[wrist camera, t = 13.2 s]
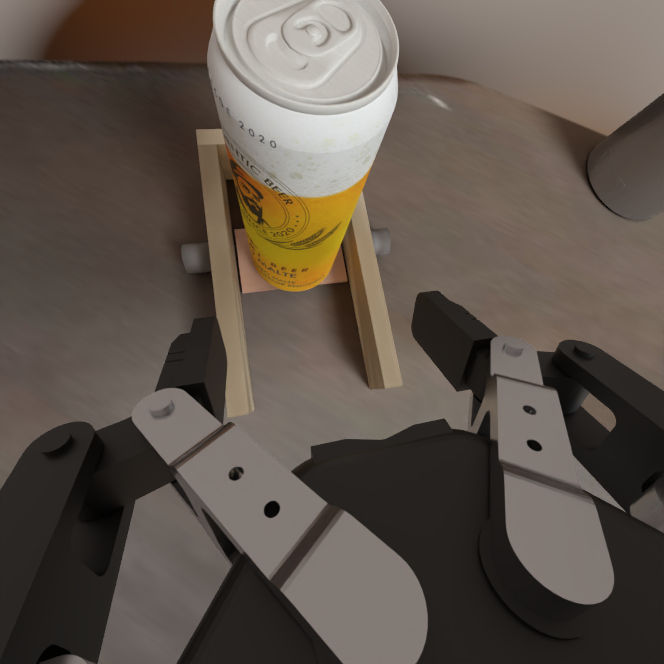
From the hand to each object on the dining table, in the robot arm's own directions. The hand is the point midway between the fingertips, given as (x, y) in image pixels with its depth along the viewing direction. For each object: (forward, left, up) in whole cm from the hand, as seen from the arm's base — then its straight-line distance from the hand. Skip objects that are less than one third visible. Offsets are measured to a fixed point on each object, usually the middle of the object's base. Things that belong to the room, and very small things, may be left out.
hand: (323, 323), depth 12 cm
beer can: (0, -7, -10) cm, 13 cm away
